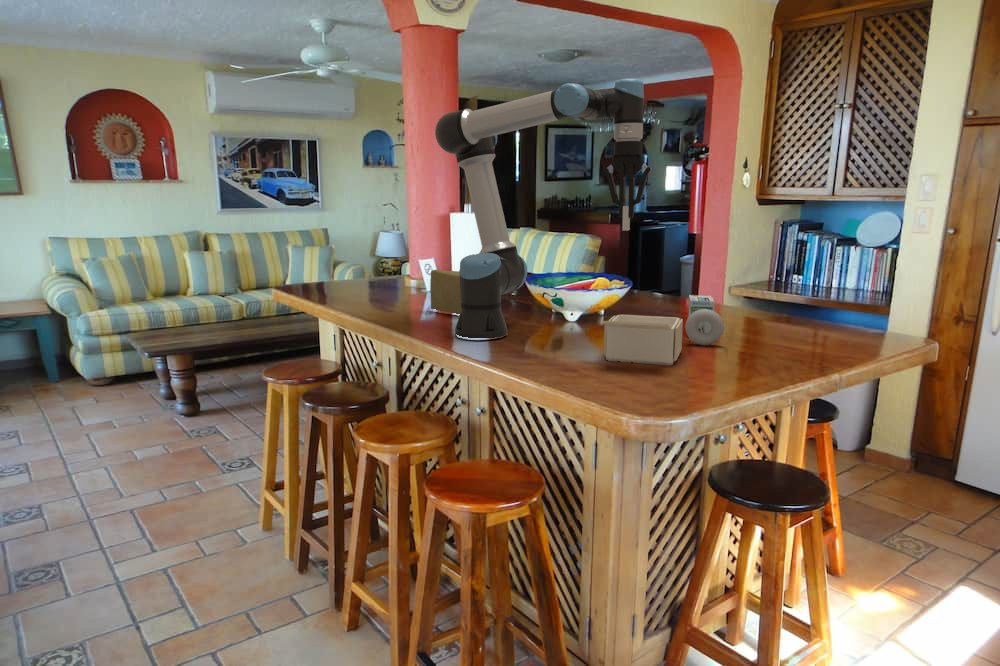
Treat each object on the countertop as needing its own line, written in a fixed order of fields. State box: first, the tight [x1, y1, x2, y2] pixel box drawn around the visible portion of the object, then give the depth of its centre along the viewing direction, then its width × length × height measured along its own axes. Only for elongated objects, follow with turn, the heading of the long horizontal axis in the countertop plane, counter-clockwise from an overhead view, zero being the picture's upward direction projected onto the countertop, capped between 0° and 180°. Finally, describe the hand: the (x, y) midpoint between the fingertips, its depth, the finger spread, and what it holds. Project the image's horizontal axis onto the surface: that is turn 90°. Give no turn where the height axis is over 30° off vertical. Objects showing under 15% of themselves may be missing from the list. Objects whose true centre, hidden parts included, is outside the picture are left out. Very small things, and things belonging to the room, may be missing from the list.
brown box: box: [429, 269, 461, 314], centre depth 233 cm, size 22×10×15 cm, turn 55°
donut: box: [685, 309, 725, 347], centre depth 184 cm, size 10×4×10 cm, turn 71°
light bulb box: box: [687, 294, 716, 333], centre depth 198 cm, size 11×7×11 cm, turn 168°
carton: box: [603, 314, 684, 366], centre depth 174 cm, size 18×15×9 cm
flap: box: [601, 320, 671, 330], centre depth 162 cm, size 15×1×8 cm
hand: (626, 230), depth 188 cm, fingers closed
